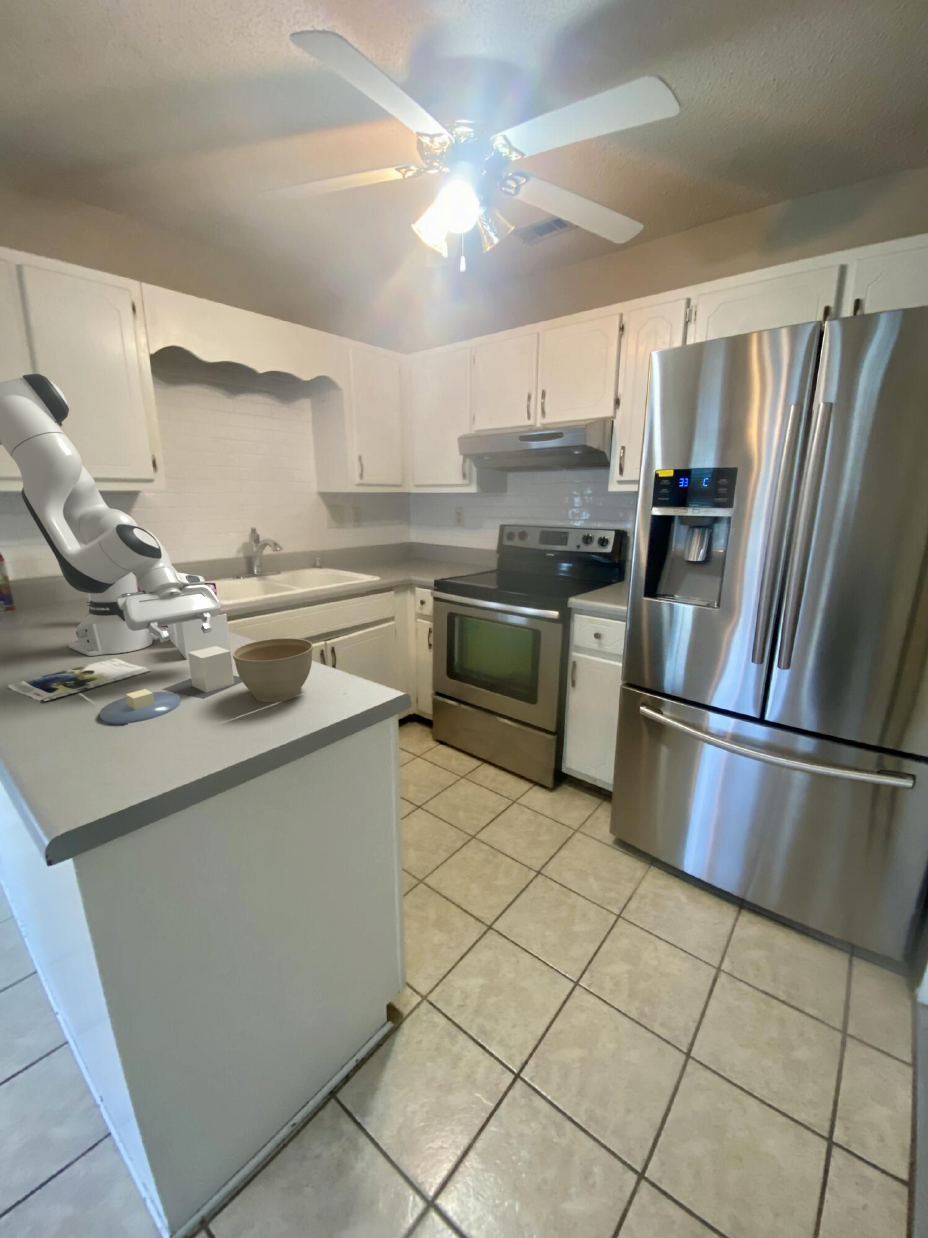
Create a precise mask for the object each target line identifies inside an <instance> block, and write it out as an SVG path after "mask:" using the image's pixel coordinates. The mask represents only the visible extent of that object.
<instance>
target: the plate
mask: <svg viewBox="0 0 928 1238" xmlns="http://www.w3.org/2000/svg"><path fill="white" fill-rule="evenodd" d="M151 692H152V693H153V697H154V703H155V704H154V705H151V706H147V707H144V708H141V709H137V710H134V709H133V708H131V707H129V706H128V703H127V697H123V698H120V699H117V700H114V701H112V702H110V703H108V704H106V705H105V706H104V707H102V708H101V709H100V711H99V717H100V720H101V721H102V722H103V723H105V724H108V725H115V726H116V725H119V726H120V725H121V726H122V725H124V726H125V725H128V724H130V723H136V722H142V721H146V720H150V719H154V718H158V717H161V716H163V715H166V714H168V713H171V712H172V711H174V710H175V709H177V708H178V707H179V706H180V705H181V702H182V701H181V696H180V695H178V693H175V692H171V691H154V692H153V691H151Z"/></svg>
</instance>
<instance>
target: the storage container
mask: <svg viewBox="0 0 928 1238" xmlns="http://www.w3.org/2000/svg"><path fill="white" fill-rule="evenodd" d="M203 624H205V621H204V622H202V620H201V619H198V620H193V621H187V622H182V623H176V624H171V625H168V627H167V632H168V635H169V641H171V643H172V644H173V645H174V647H175V648H178V651H179V652H180V654H181V655H182V656H183V657H184V659H185V660H186V661H189V656H188V652H193V651H197V650H201V649H205V648H209V647H214V646H218V647H220V648H223V649H226V650H229V651H231V644H230V633H229V625H228V617H227V614H226V613H224V614H219V615H217V616H215V617H210V621H209V624H210V626H211V632H209V633H203V631H202V629H201V627H202V625H203Z"/></svg>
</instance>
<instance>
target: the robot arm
mask: <svg viewBox="0 0 928 1238" xmlns="http://www.w3.org/2000/svg"><path fill="white" fill-rule="evenodd" d="M69 411H70V408H69V405H68V401H67V398H66V396H65V395H64V392H63V391H62V390H61V389H60V387H58V386H57V385H56V384H55V383H54V382H53V381H52V380H50V379H48V377H46V376H44V375H43V374H40V373H30V374H29V373H28V374H24V375H22V377H17V378H13V379H8V380H4V381H1V382H0V446H2V447H3V448H4V449H5V450H6V452H7V454H8V455H9V456H10V457H11V458H12V460H14V462H15V463H16V465H17V467H18V469H19V472H20V475H21V479H22V488H21V492H20V493H21V494H20V495H21V498H22V500H23V503H24V504H25V506H26V508H27V510H28V512H29V513H30V516H31V517H32V519H33V521H34V523H35V524H36V525H37V527H38V529H39V531H40V533H41V534H42V536H43V538H44V539H45V541H46V543H47V545H48V546H49V548H50V549H51V552H52V553H53V555H54V556H55V559H56V560H57V562H58V566H59V568H60V571H61V573H62V575H63V577H64V579H65V581H66V582H67V583H68V584H69V585H70V586H71V587H72V588H73V589H75V590H76V591H78V592H82V593H86V594H88V593H90V596H91V601H90V602H89V601H86V604H87V605H86V606H87V607H88V615H87V616H86V617H85V618H84V619H83V620H82V621H81V622H80V623H79V624H78V625H77V627H76V630H75V635H76V637H77V640H75V641H73V642H70V643H68V648H69V649H72V650H74V651H77V652H79V653H81V654H84V656H85V655H86V656H88V657H92V656H93V657H94V656H101V655H113V654H121V653H122V654H123V653H127V652H135V651H138V650H142V649H145V648H147V647H149V646H151V645H152V644H153V641H155V640H156V637H158V639H159V641H160V642H161V643H162V642H168V641H170V639H169V633H168V630H164V631H163V630H162V629H160V628H159V627H166V626H165V625H171V624H176V623H182V622H187V621H193V620H198V619H201V620H202V622H204V621H205V624H203V625H202V627H201V629H202V631H203V633H209V632H211V626H210V624H209V621H210V617H215V616H217V615H218V614H219V615H220V612H221V609H222V604H221V601H220V600H219V597H218V596H216V595H215V593H214V592H213V590H212V589H211V588H210V587H208V586H206V585H204V583H206V580H205V578H204V576H202V575H196V574H188V573H183V572H178V571H177V569H176V568H175V567H174V566H173V565H172V559H171V556H170V555H169V553H168V551H167V550H166V548H165V546H164V545H163V544H162V543H161V541H160V540H159V539H158V537H157V536H156V535H155V534H154V533H153V532H151V531H149V530H147V529H144V528H141V527H139V525H138V524H137V522H136V521H135V519H134V518H133V517H132V516H130V515H129V514H127V513H126V512H124V511H122V510H120V509H116V508H110V507H109V506H108V505H107V503H106V502H105V500H104V498H103V496H102V495H101V493H100V492H99V490H98V487H97V485H96V484H97V483H96V481H95V479H94V478H93V476H92V475H91V473H89V471H88V470H87V468H86V467H85V466H84V465H83V461H82V460H83V459H82V457H81V455H80V453H79V451H78V449H77V447H76V446H75V445H74V443H72V441H71V440H70V439H69V437H68V435H66V433H65V432H64V431H63V430H62V429H61V428H62V427H63V423H62V422H63V421H65V420H66V418H68V416H69ZM60 427H61V428H60ZM78 541H79V542H80V543H82V544H83V545H84V546H82V547H81V545H80V543H79V542H78ZM137 586H139V588H140V590H141V591H140V592H138V589H137ZM89 603H90V604H89Z"/></svg>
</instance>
